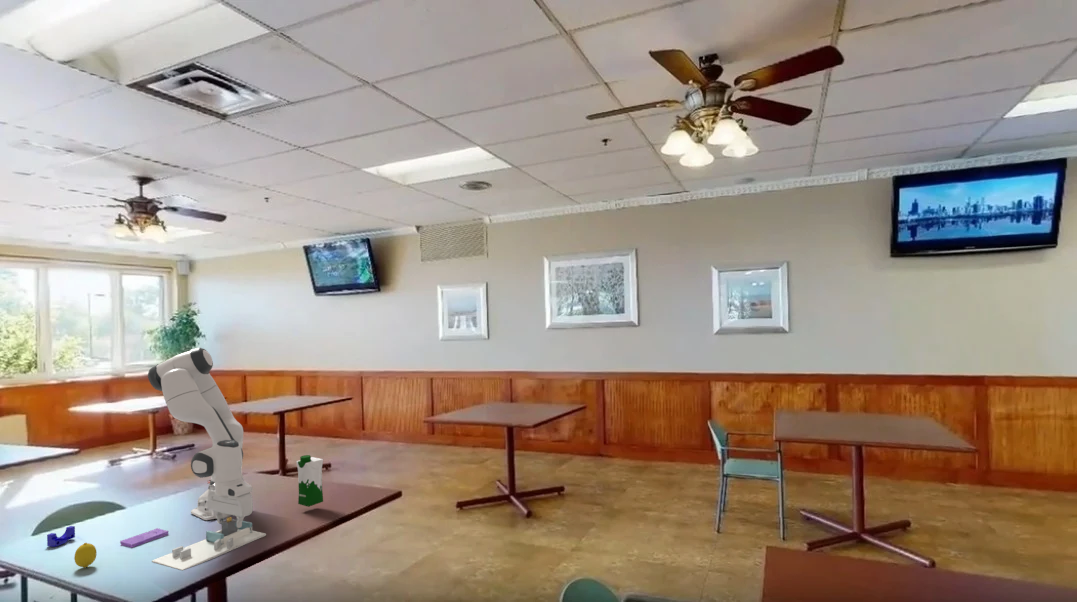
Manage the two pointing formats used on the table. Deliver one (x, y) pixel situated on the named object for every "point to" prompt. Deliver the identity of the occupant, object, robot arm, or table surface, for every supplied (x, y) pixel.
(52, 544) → the cable holder
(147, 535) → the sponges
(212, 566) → the table surface
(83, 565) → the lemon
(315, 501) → the milk carton
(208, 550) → the board
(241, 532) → the end holder
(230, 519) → the block
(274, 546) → the table surface
